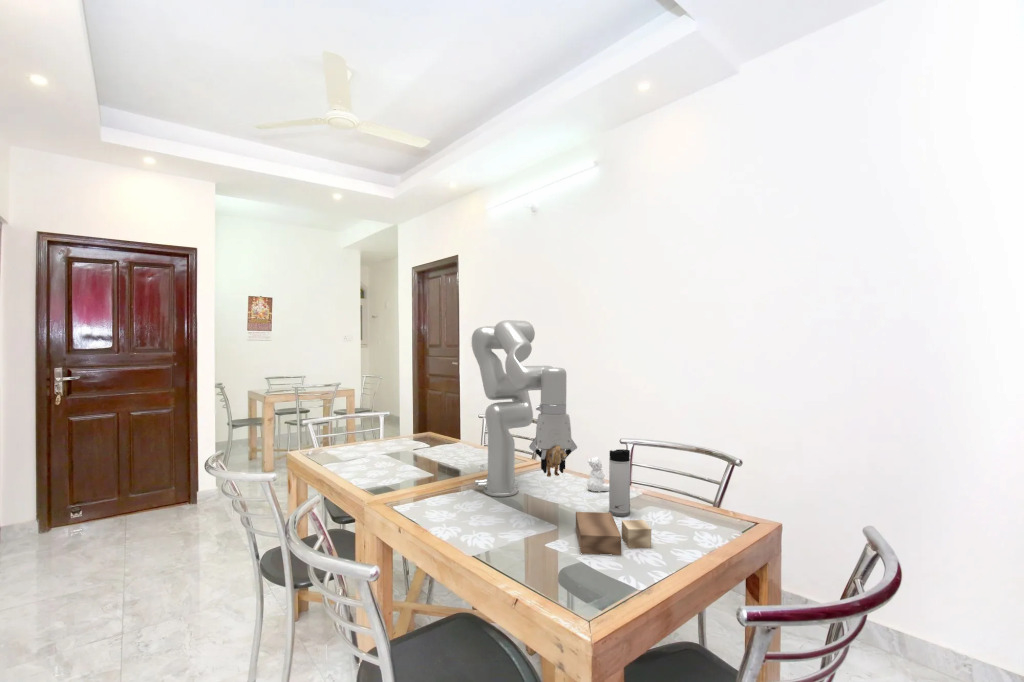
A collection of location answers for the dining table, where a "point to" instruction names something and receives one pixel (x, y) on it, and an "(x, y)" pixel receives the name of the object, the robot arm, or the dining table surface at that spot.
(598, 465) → the seated beast figurine
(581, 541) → the walnut block
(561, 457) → the lion figurine
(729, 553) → the dining table surface
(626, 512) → the travel mug
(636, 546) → the oak block
